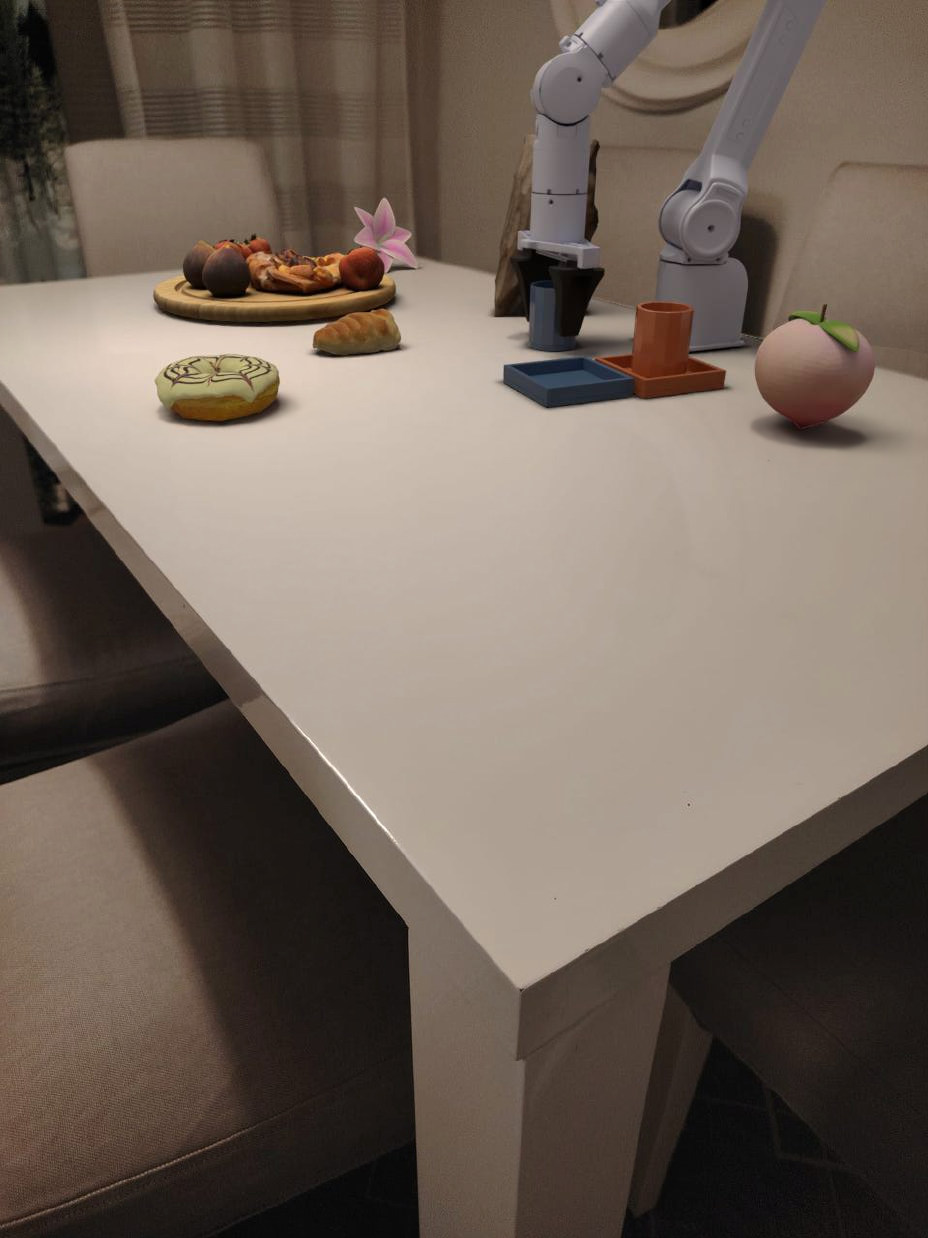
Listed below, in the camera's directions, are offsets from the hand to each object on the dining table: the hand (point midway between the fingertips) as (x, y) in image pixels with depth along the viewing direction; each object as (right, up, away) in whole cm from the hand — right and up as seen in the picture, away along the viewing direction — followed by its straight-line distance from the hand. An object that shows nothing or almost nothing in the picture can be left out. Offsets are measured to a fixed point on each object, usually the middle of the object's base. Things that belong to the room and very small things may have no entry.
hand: (552, 328), depth 100 cm
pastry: (-21, -3, 0) cm, 21 cm away
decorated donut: (-31, -13, -19) cm, 39 cm away
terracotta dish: (+9, -9, -12) cm, 17 cm away
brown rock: (-1, +8, +19) cm, 20 cm away
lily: (-23, +24, +46) cm, 57 cm away
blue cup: (0, -2, +1) cm, 2 cm away
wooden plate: (-35, +11, +23) cm, 43 cm away
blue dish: (0, -10, -14) cm, 18 cm away
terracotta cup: (+9, -9, -12) cm, 17 cm away
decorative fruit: (+18, -16, -24) cm, 34 cm away
